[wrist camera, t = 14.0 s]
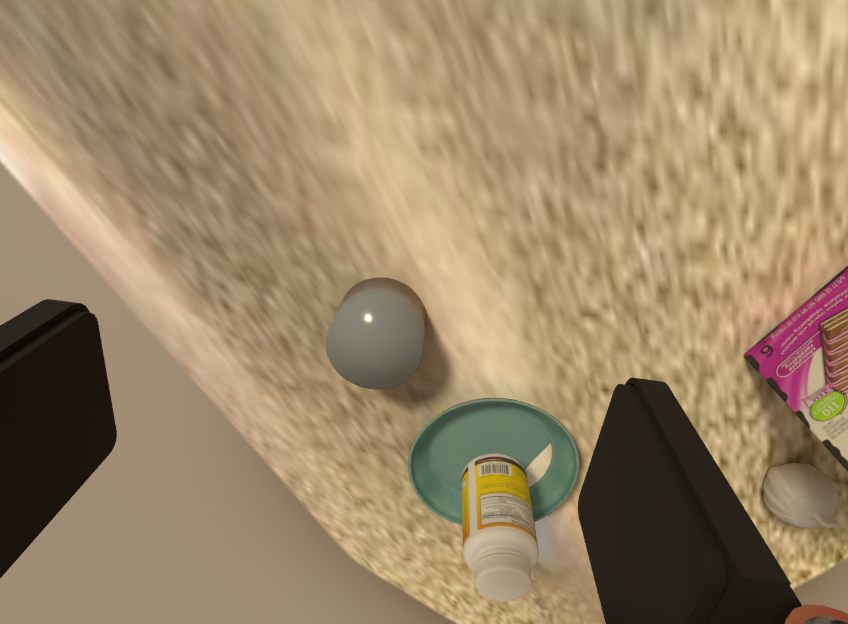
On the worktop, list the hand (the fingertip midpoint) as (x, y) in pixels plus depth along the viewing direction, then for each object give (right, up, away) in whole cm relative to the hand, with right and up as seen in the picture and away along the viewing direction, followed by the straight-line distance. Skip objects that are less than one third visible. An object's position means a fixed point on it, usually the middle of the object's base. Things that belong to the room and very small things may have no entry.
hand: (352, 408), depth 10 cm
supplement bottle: (+7, -12, +36) cm, 39 cm away
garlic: (+33, -13, +38) cm, 52 cm away
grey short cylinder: (-2, +1, +33) cm, 33 cm away
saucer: (+7, -11, +39) cm, 41 cm away
